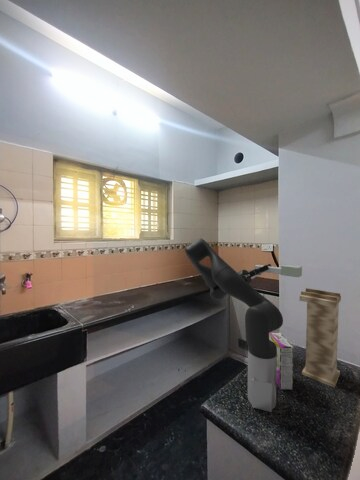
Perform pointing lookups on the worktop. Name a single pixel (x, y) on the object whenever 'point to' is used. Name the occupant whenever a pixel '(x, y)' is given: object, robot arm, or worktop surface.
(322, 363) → the shelf stand
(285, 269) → the handle block
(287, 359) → the candy bar box
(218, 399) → the worktop surface
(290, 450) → the worktop surface
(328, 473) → the worktop surface
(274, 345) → the robot arm
